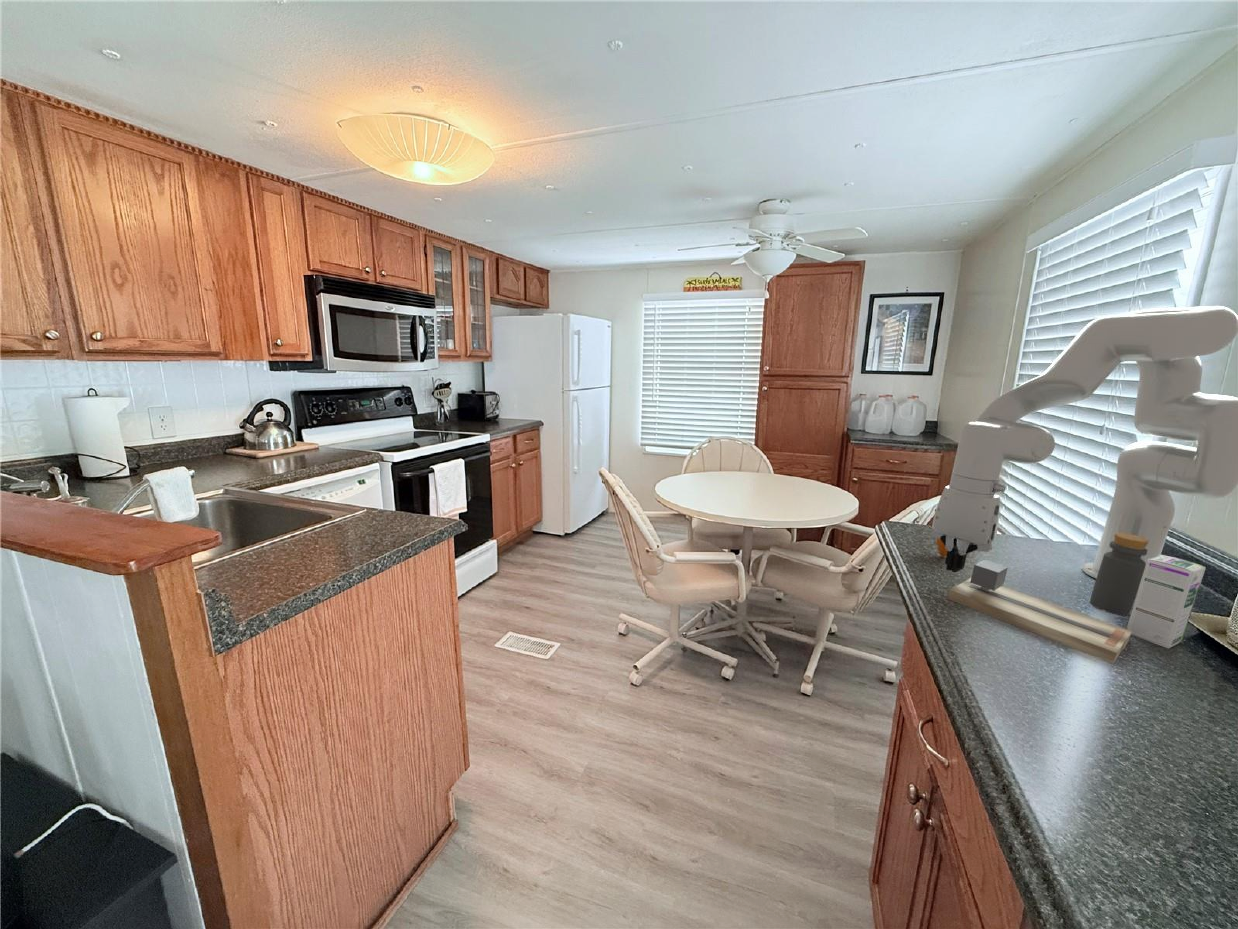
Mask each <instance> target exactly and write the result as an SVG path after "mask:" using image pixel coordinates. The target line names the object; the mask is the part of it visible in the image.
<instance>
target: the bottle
mask: <svg viewBox="0 0 1238 929" xmlns="http://www.w3.org/2000/svg"><path fill="white" fill-rule="evenodd" d="M1148 543H1149V541H1148V540H1147V539H1145V538H1142V537H1139V536H1136V535H1131V534H1126V533H1115V534H1114V541H1111V542H1110V545H1109V546H1110V548H1112V552H1107V553H1105V554H1104V556H1103V559H1102V562H1101V565H1100V569H1099V572H1098V575H1097V578H1096V579H1095V582H1094V584H1093V589H1092V593H1091V596H1090V599H1089V603H1090V604H1091V605H1092V606H1094V607H1095V608H1096V609H1099V610H1102V611H1104V612H1108V613H1111V614H1115V615H1119V616H1120V615H1121V616H1128V615H1131V612H1132V609H1133V605H1134V602H1135V599H1136V595H1137V592H1138V588H1139V585H1140V582H1141V579H1142V576H1143V573H1144V569H1145V566H1146V563H1145V562H1144V561H1143V560H1142V559H1141V556H1144V555H1146V554H1147V549H1145V547H1146V546H1147V544H1148Z"/></svg>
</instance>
